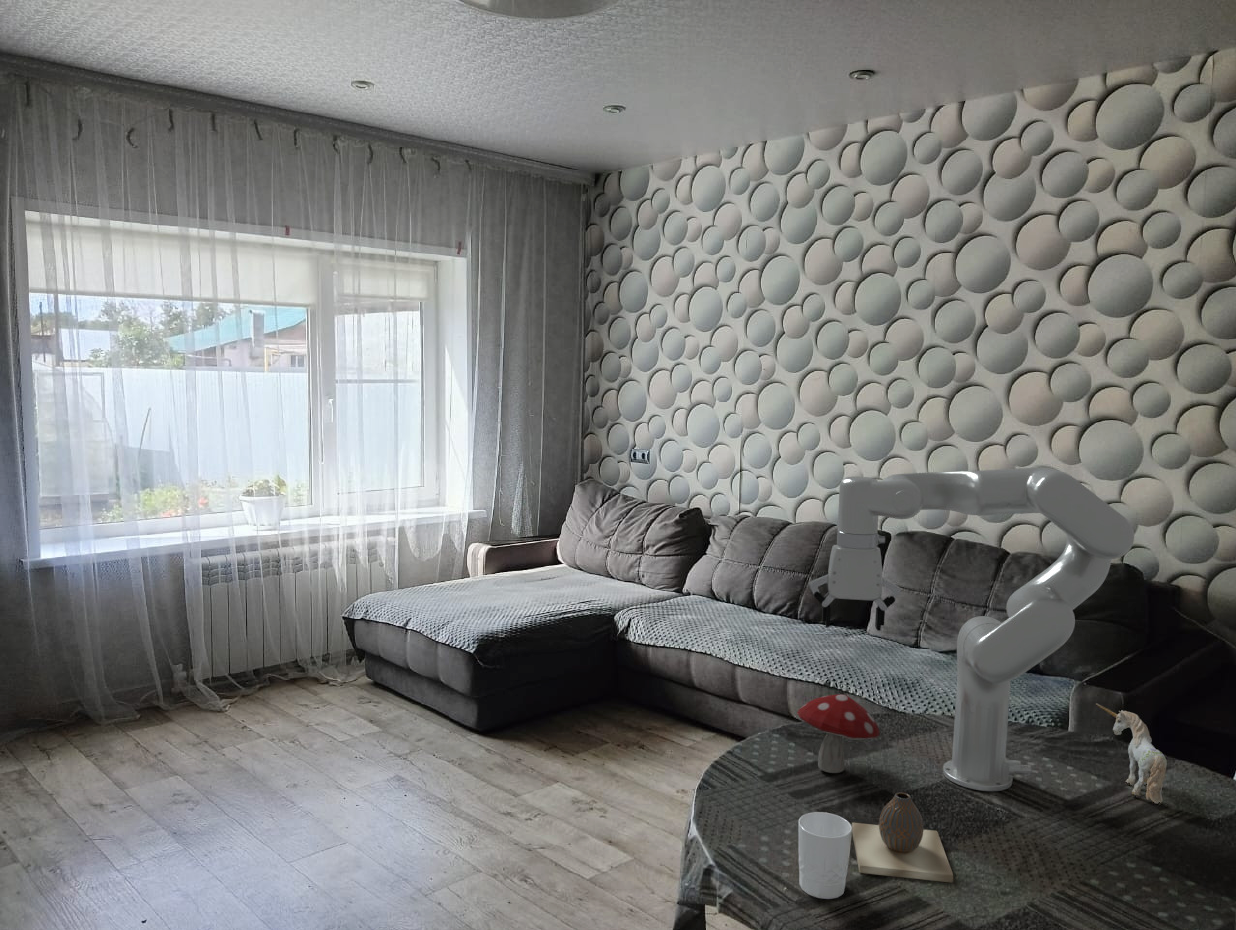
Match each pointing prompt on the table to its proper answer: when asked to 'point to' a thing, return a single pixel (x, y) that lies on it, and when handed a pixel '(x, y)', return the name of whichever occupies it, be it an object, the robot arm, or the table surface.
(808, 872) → the white cup
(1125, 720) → the unicorn figurine
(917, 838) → the vase
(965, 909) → the table surface
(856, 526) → the robot arm
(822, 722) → the decorative mushroom
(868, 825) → the birch pad
